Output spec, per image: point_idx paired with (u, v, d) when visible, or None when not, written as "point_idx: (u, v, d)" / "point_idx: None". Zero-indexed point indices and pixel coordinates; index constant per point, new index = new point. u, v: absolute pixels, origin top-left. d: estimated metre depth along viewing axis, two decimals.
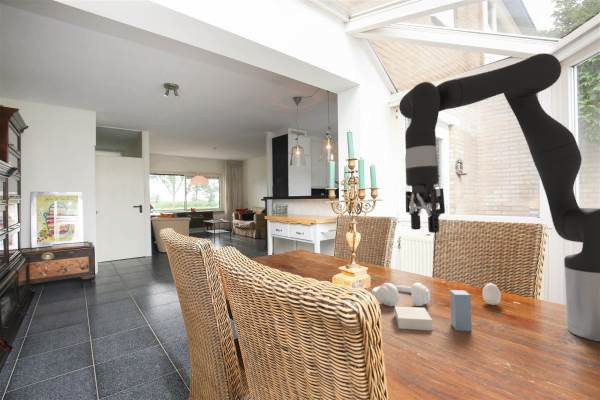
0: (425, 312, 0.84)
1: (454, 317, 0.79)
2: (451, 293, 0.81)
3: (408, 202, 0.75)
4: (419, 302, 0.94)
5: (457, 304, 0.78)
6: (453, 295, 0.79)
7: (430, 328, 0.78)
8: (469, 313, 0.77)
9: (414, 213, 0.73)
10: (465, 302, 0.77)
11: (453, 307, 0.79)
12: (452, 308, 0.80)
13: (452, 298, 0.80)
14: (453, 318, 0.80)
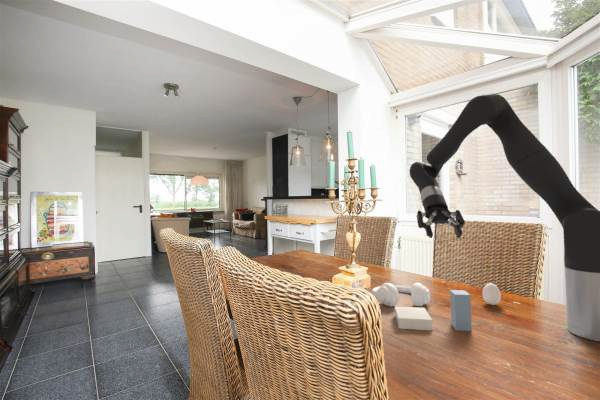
0: (425, 312, 0.84)
1: (454, 317, 0.79)
2: (451, 293, 0.81)
3: (457, 221, 0.95)
4: (419, 303, 0.94)
5: (457, 304, 0.78)
6: (453, 295, 0.79)
7: (430, 328, 0.78)
8: (469, 313, 0.77)
9: (454, 226, 0.93)
10: (465, 302, 0.77)
11: (453, 307, 0.79)
12: (452, 308, 0.80)
13: (452, 298, 0.80)
14: (453, 318, 0.80)
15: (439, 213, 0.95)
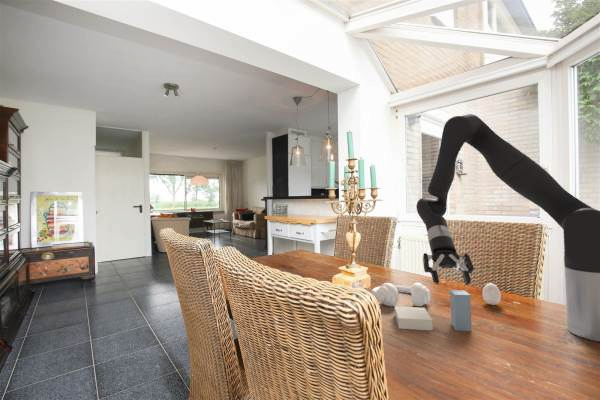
0: (425, 312, 0.84)
1: (454, 317, 0.79)
2: (451, 293, 0.81)
3: (465, 265, 0.90)
4: (419, 303, 0.94)
5: (457, 304, 0.78)
6: (453, 295, 0.79)
7: (430, 328, 0.78)
8: (469, 313, 0.77)
9: (462, 272, 0.88)
10: (465, 302, 0.77)
11: (453, 307, 0.79)
12: (452, 308, 0.80)
13: (452, 298, 0.80)
14: (453, 318, 0.80)
15: (446, 257, 0.91)
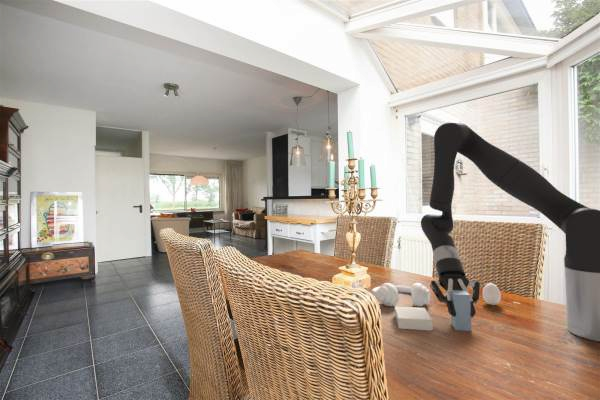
0: (425, 312, 0.84)
1: (454, 317, 0.79)
2: (451, 293, 0.81)
3: None
4: (419, 303, 0.94)
5: (456, 304, 0.78)
6: (453, 295, 0.79)
7: (430, 328, 0.78)
8: (469, 313, 0.77)
9: None
10: (465, 302, 0.77)
11: None
12: None
13: (452, 298, 0.80)
14: (453, 318, 0.80)
15: (455, 281, 0.84)
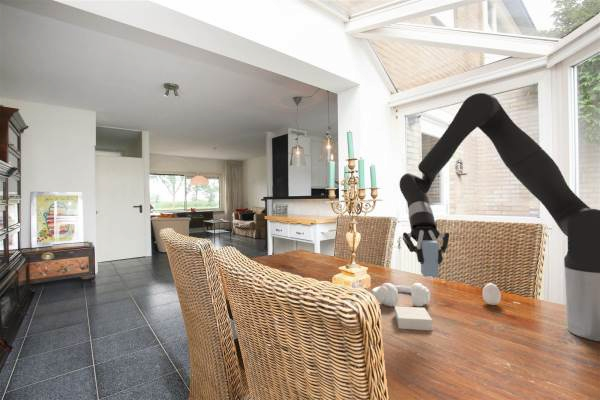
0: (425, 312, 0.84)
1: (422, 264, 0.82)
2: (421, 242, 0.83)
3: None
4: (419, 303, 0.94)
5: (425, 251, 0.81)
6: (422, 243, 0.82)
7: (430, 328, 0.78)
8: (436, 260, 0.80)
9: None
10: (433, 250, 0.80)
11: None
12: None
13: (422, 247, 0.82)
14: (422, 266, 0.83)
15: (426, 233, 0.86)
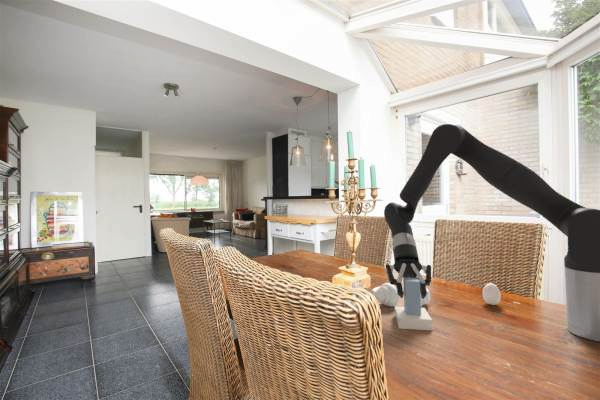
0: (425, 312, 0.84)
1: (405, 303, 0.83)
2: (404, 280, 0.85)
3: None
4: None
5: (407, 290, 0.82)
6: (404, 282, 0.83)
7: (430, 328, 0.78)
8: (419, 299, 0.81)
9: (420, 284, 0.84)
10: (415, 289, 0.81)
11: (405, 293, 0.83)
12: (404, 294, 0.85)
13: (404, 285, 0.84)
14: (405, 304, 0.84)
15: (408, 266, 0.88)
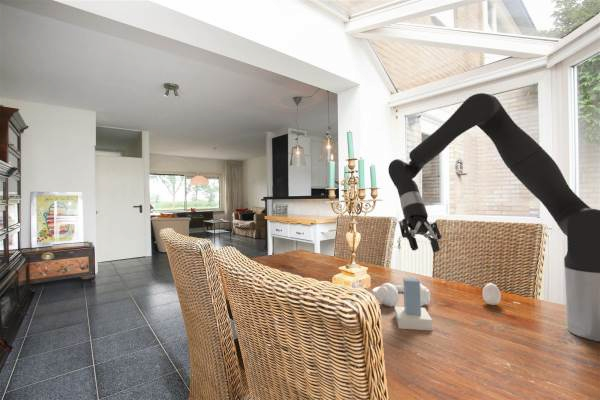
0: (425, 312, 0.84)
1: (405, 303, 0.83)
2: (403, 280, 0.85)
3: None
4: None
5: (407, 290, 0.82)
6: (404, 282, 0.83)
7: (430, 328, 0.78)
8: (419, 299, 0.81)
9: (431, 240, 0.93)
10: (415, 289, 0.81)
11: (405, 293, 0.83)
12: (404, 294, 0.85)
13: (404, 285, 0.84)
14: (405, 304, 0.84)
15: (421, 224, 0.93)
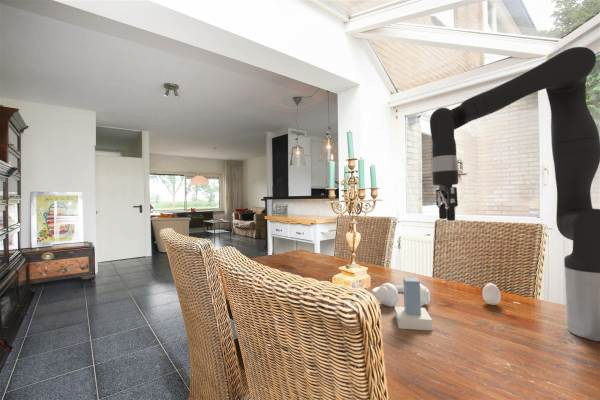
0: (425, 312, 0.84)
1: (405, 303, 0.83)
2: (403, 280, 0.85)
3: (437, 198, 0.97)
4: None
5: (407, 290, 0.82)
6: (404, 282, 0.83)
7: (430, 328, 0.78)
8: (419, 299, 0.81)
9: (441, 206, 0.95)
10: (415, 289, 0.81)
11: (405, 293, 0.83)
12: (404, 294, 0.85)
13: (404, 285, 0.84)
14: (405, 304, 0.84)
15: None
